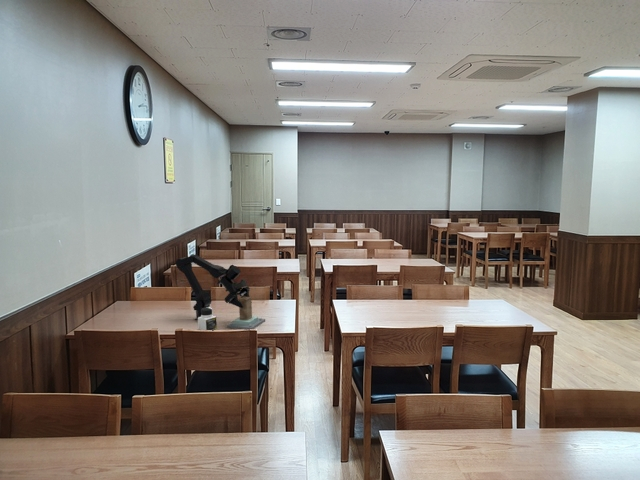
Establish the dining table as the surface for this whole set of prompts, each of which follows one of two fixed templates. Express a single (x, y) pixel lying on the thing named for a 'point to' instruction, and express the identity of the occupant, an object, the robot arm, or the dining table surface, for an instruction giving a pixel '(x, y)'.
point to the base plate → (246, 323)
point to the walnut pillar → (245, 308)
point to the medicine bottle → (207, 319)
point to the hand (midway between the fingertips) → (247, 305)
